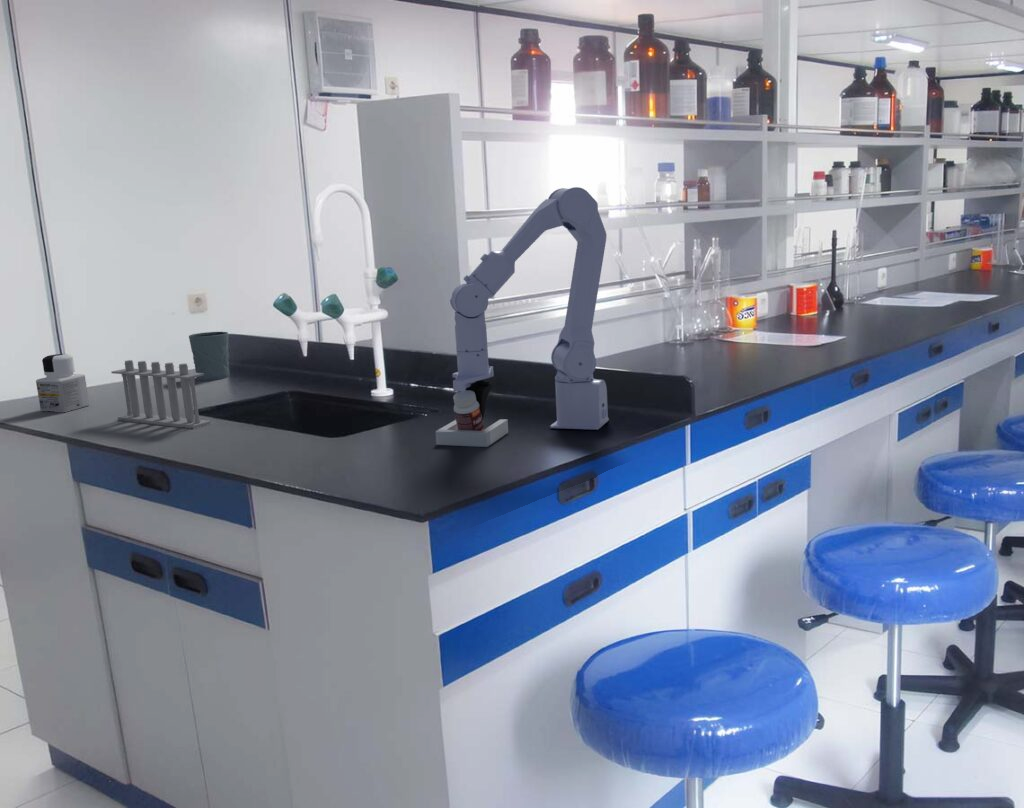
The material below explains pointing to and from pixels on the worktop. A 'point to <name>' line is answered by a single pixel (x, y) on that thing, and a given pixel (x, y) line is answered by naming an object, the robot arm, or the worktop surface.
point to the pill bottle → (467, 411)
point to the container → (61, 385)
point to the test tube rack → (160, 395)
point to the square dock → (471, 435)
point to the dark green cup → (210, 355)
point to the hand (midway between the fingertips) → (476, 421)
